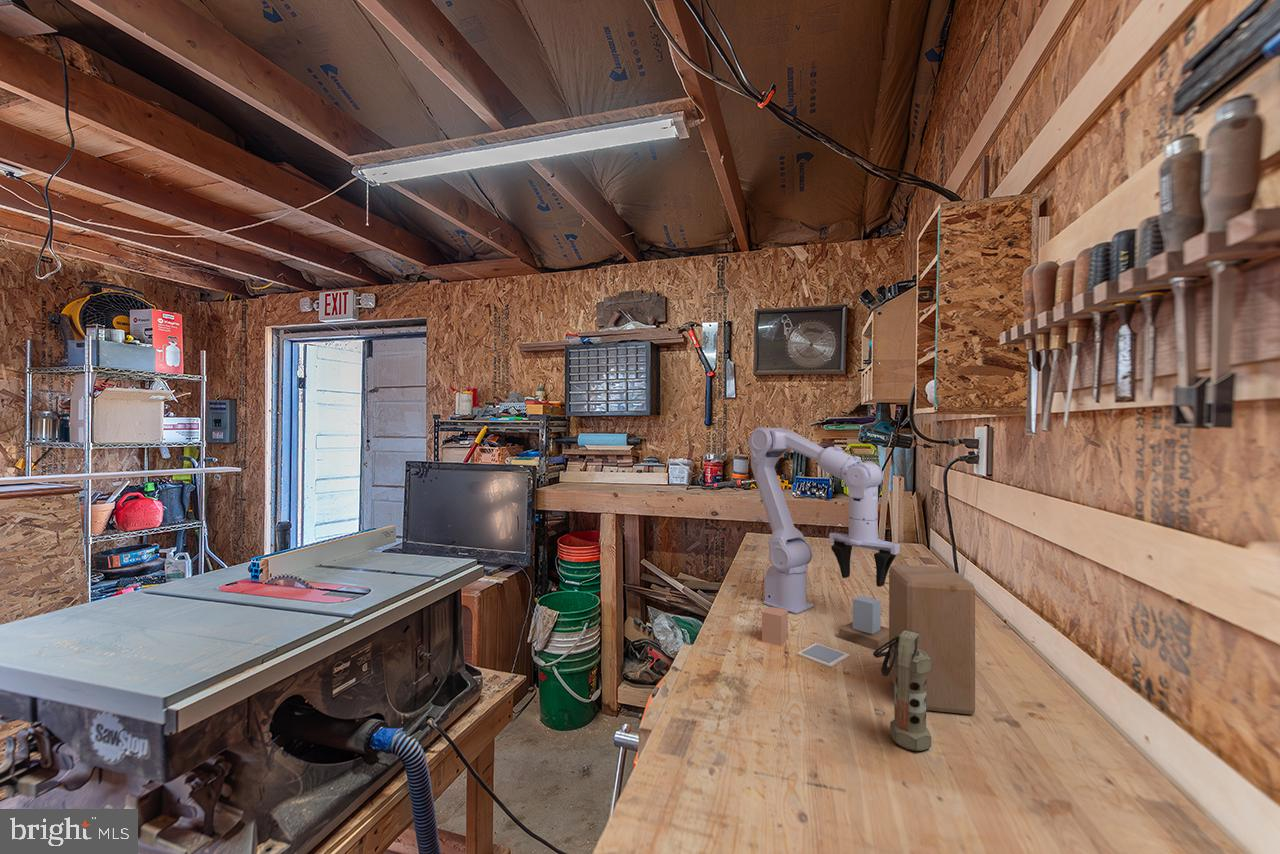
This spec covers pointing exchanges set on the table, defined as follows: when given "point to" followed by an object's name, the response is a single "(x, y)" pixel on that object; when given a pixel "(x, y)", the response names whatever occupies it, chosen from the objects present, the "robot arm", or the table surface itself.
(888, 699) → the table surface
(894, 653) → the grenade model
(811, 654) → the tile
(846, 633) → the walnut slab
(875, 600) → the blue block
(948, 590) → the wooden block
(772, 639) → the terracotta block
